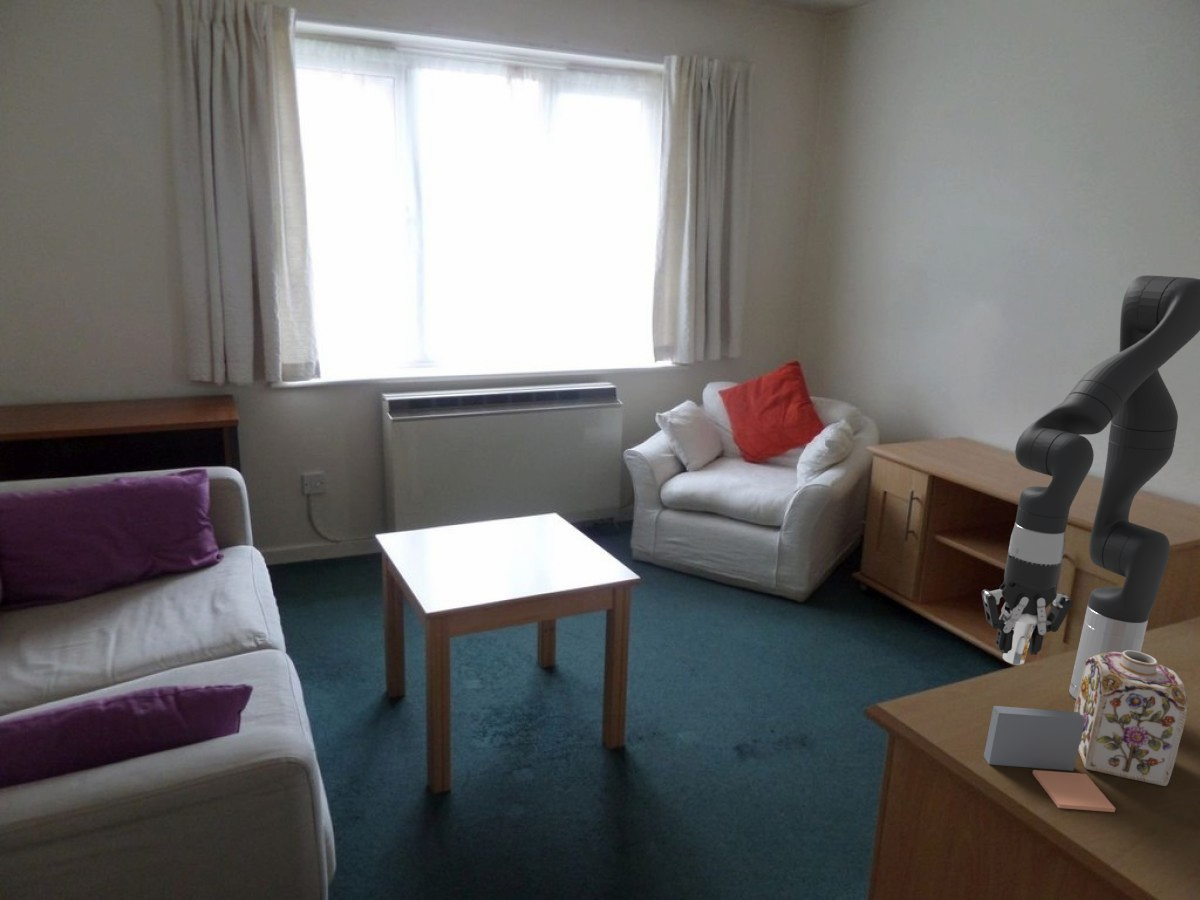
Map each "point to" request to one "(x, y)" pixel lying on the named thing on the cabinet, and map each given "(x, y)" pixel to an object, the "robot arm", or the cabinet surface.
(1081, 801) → the mat
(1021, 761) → the screen
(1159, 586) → the robot arm
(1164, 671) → the decorative jar
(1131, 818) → the cabinet surface
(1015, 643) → the milkshake
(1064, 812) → the cabinet surface
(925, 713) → the cabinet surface
